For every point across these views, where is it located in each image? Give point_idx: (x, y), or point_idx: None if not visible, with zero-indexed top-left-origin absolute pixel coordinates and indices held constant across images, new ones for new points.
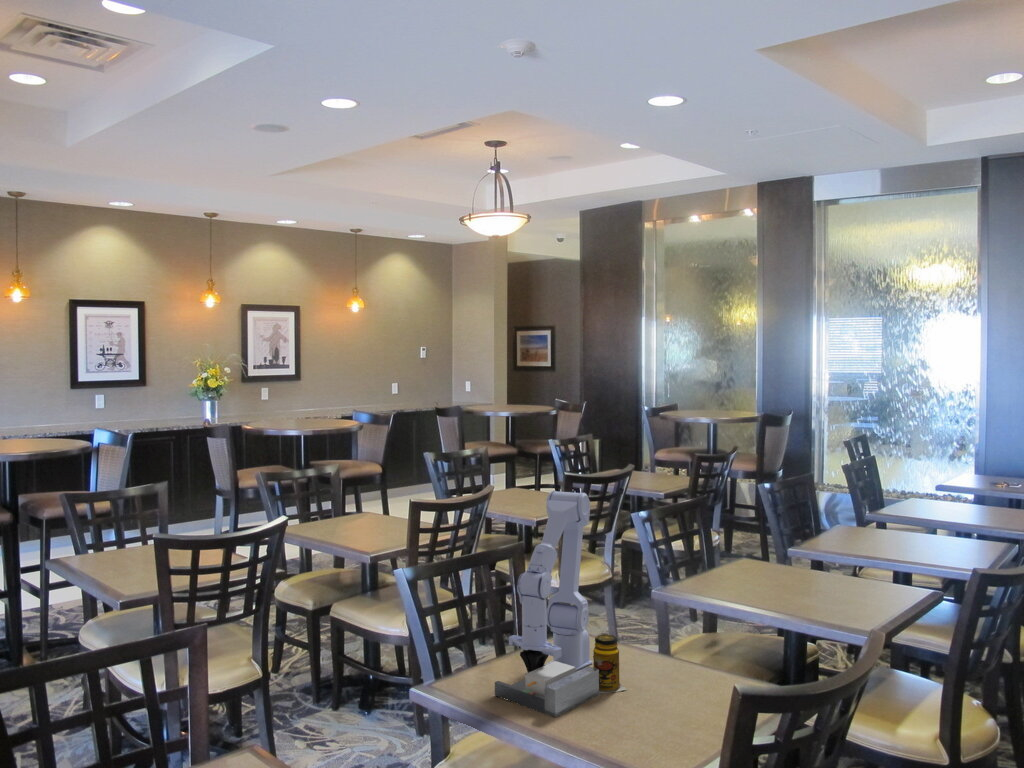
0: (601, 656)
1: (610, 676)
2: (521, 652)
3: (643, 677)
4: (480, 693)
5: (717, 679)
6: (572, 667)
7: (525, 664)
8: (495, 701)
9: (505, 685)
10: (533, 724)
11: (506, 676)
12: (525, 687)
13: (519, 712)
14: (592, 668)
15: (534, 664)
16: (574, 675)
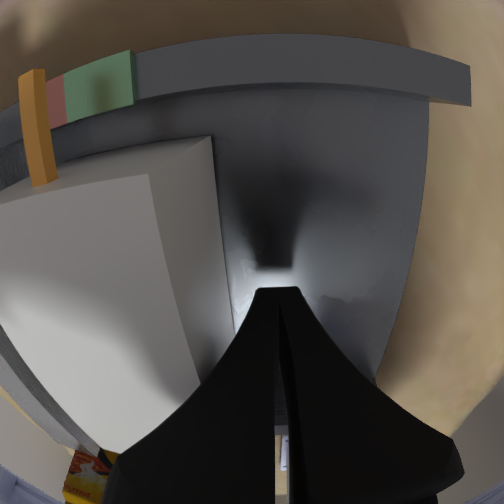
0: (75, 487)
1: None
2: (445, 485)
3: None
4: (481, 67)
5: None
6: (103, 444)
7: (355, 376)
8: (355, 9)
9: (363, 44)
10: (14, 19)
11: (476, 300)
12: (193, 144)
13: (123, 8)
14: (71, 446)
15: (186, 408)
16: (12, 381)
